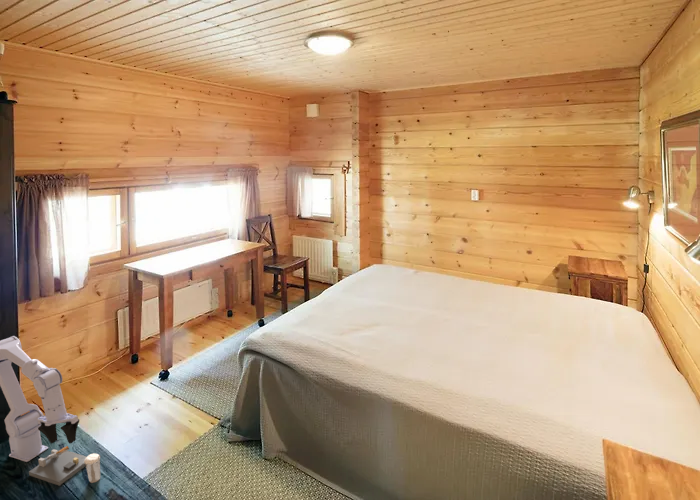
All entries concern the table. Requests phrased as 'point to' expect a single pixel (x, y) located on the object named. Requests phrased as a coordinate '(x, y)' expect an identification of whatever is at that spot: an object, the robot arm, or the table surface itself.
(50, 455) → the latch bar
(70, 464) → the base board
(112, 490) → the table surface
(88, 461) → the milkshake
